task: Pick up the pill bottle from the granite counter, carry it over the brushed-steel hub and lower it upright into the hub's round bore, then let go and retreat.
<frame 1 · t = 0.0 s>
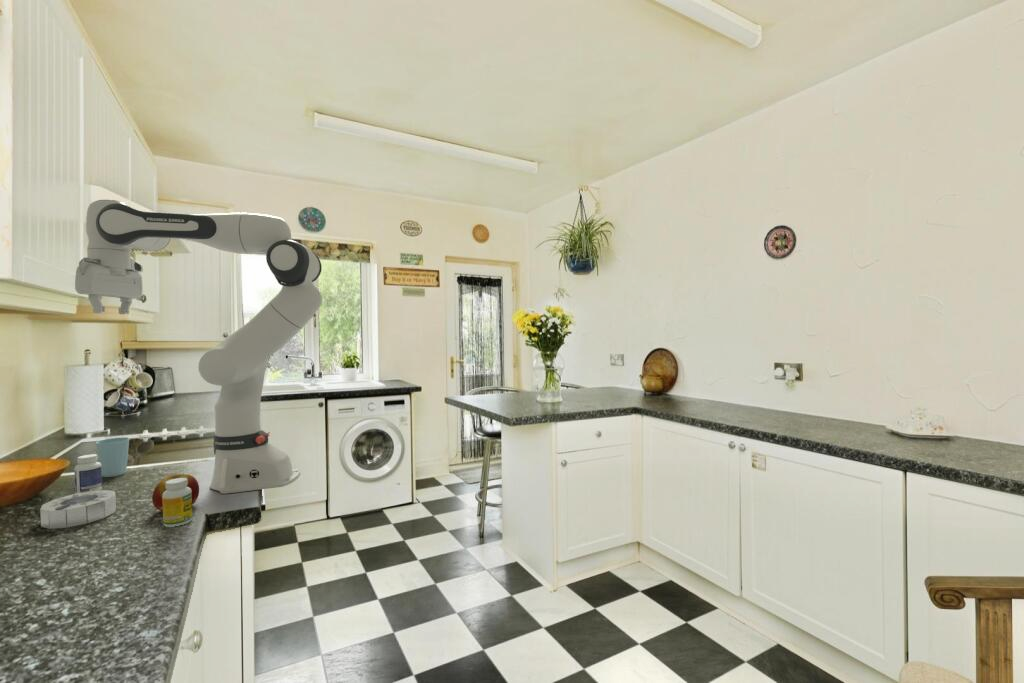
hand: (112, 313, 124), 48 cm above the worktop, fingers open, 8 cm apart
hub: (80, 516, 108), on the worktop
supplement bottle: (178, 523, 103), on the worktop
fruit: (176, 509, 111), on the worktop
pill bottle: (89, 492, 125), on the worktop
cup: (114, 474, 140), on the worktop
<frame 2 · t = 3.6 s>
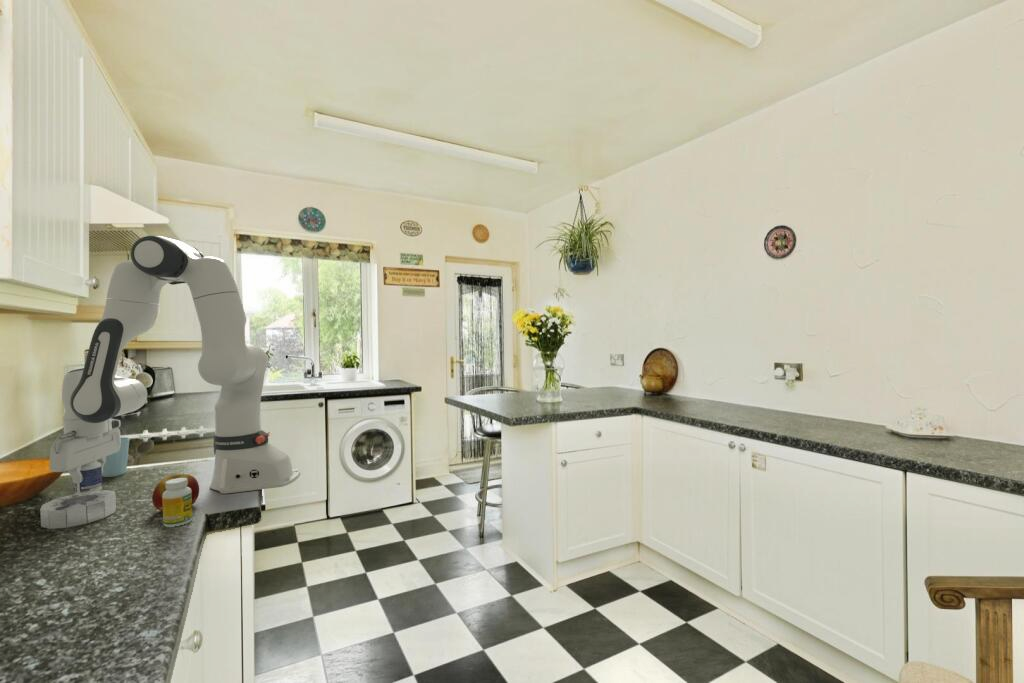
hand: (88, 478, 125), 4 cm above the worktop, fingers closed on pill bottle, 5 cm apart
pill bottle: (89, 492, 125), on the worktop, touching gripper
everything else where it was.
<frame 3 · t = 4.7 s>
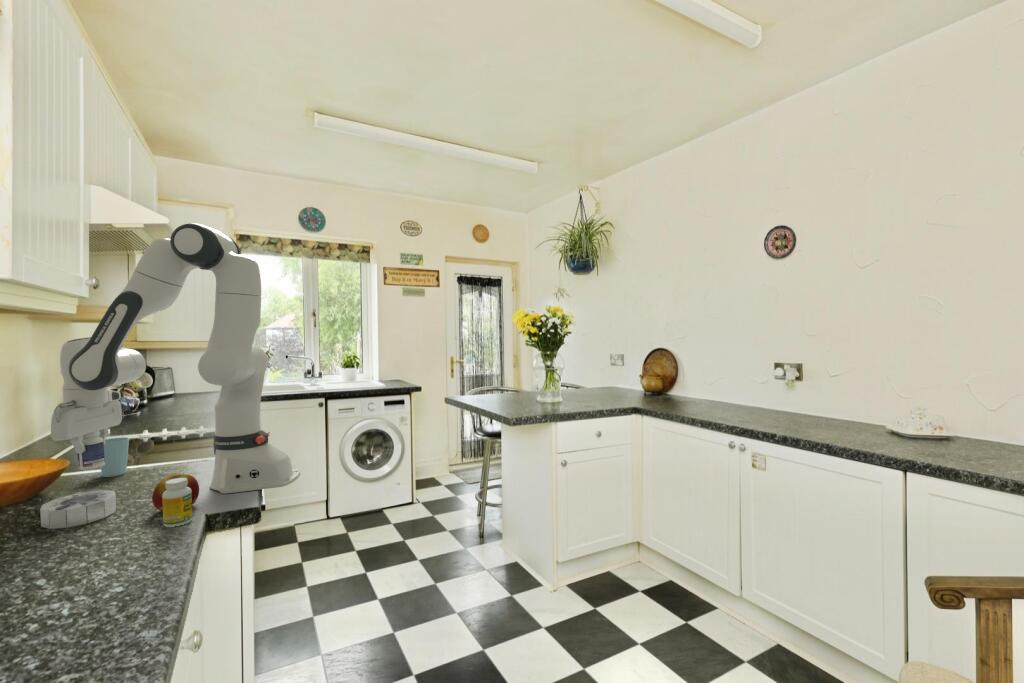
hand: (90, 449, 124), 12 cm above the worktop, fingers closed on pill bottle, 5 cm apart
pill bottle: (92, 467, 125), point 6 cm above the worktop, touching gripper
everything else where it was.
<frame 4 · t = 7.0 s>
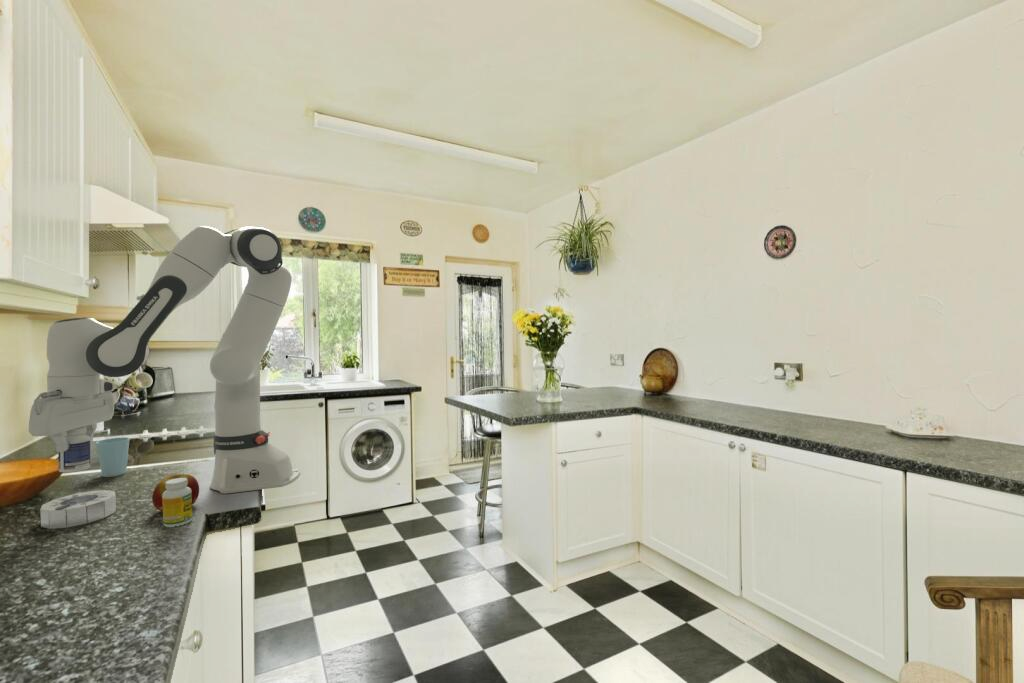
hand: (75, 447, 107), 16 cm above the worktop, fingers closed on pill bottle, 5 cm apart
pill bottle: (74, 470, 107), point 11 cm above the worktop, touching gripper
everything else where it was.
when the fingers open (6 cm above the worktop, at t = 9.2 s): pill bottle stays where it is, resting in hub.
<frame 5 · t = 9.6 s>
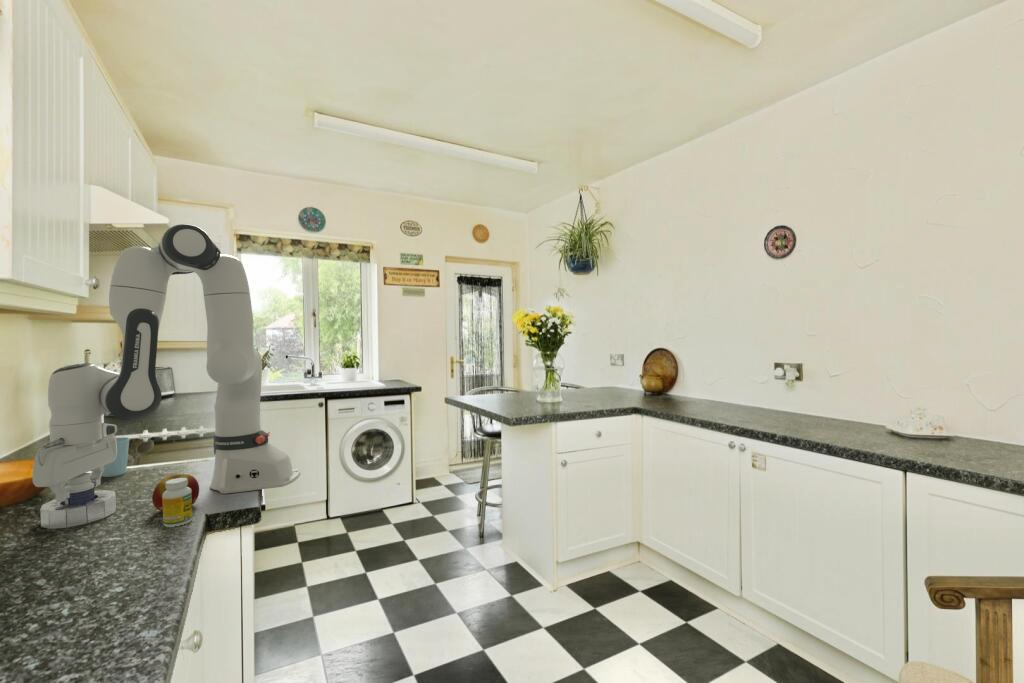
hand: (79, 493, 107), 6 cm above the worktop, fingers open, 8 cm apart
pill bottle: (79, 517, 108), resting in hub
everything else where it was.
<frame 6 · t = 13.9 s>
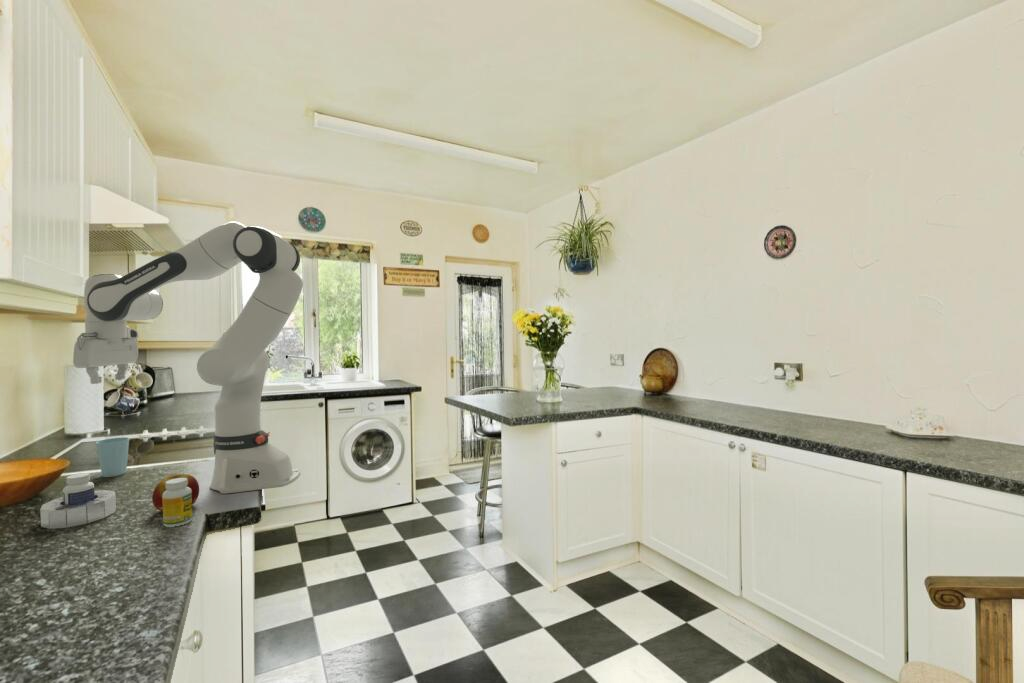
hand: (108, 381, 130), 29 cm above the worktop, fingers open, 8 cm apart
nothing on the worktop moved.
at the end: pill bottle 0.2 cm from the hub (horizontally); pill bottle resting in hub; pill bottle tilted 0° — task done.
